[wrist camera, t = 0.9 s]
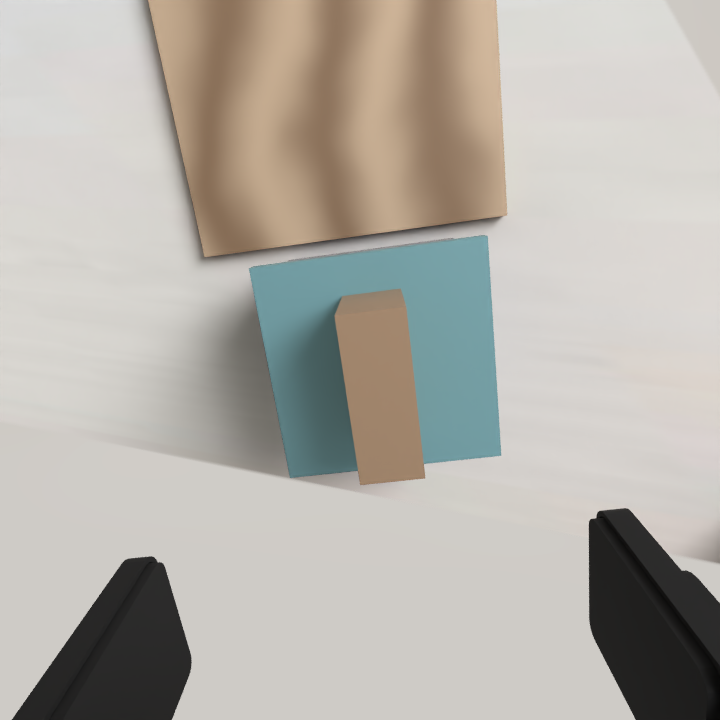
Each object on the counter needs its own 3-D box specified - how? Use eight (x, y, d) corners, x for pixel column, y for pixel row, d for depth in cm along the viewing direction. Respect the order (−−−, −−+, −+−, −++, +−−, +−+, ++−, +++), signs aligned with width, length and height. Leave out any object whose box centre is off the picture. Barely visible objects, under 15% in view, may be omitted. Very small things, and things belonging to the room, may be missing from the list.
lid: (477, 233, 27) (514, 242, 20) (491, 436, 30) (526, 506, 23) (259, 263, 28) (219, 282, 21) (296, 457, 31) (272, 531, 24)
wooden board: (488, -77, 28) (492, -85, 28) (504, 215, 33) (507, 215, 32) (149, -16, 30) (143, -22, 29) (208, 256, 34) (204, 257, 33)
